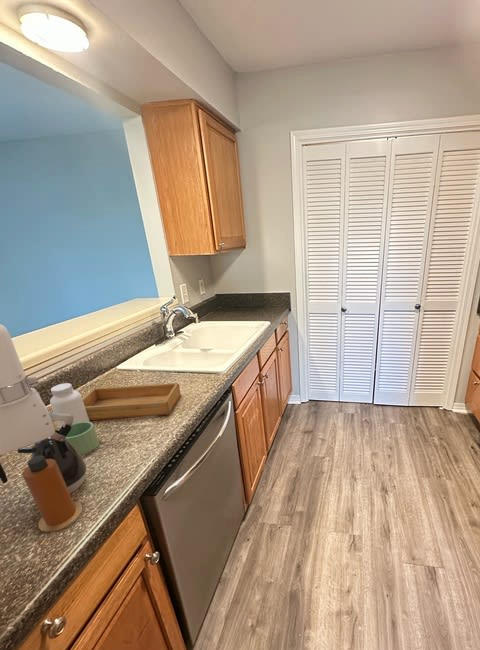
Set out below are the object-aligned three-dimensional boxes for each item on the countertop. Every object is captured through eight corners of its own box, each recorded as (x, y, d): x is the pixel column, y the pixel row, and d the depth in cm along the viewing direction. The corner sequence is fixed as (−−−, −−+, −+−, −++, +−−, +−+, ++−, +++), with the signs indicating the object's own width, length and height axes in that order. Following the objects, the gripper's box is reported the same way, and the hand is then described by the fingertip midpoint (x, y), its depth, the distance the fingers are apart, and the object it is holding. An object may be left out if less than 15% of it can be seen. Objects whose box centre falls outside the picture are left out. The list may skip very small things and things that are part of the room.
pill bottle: (76, 436, 99) (59, 393, 93) (55, 434, 101) (38, 391, 95) (96, 422, 106) (82, 381, 100) (77, 420, 108) (62, 380, 102)
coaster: (33, 537, 66) (32, 536, 66) (45, 509, 73) (45, 507, 73) (78, 524, 69) (77, 522, 68) (86, 498, 76) (85, 496, 75)
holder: (62, 460, 89) (54, 441, 86) (70, 444, 96) (63, 425, 94) (96, 452, 92) (90, 433, 89) (102, 437, 99) (95, 418, 96)
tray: (181, 395, 122) (178, 381, 120) (169, 416, 109) (166, 401, 106) (97, 401, 121) (93, 388, 119) (75, 423, 107) (69, 408, 105)
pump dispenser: (39, 488, 79) (14, 436, 73) (87, 468, 85) (68, 419, 79) (41, 512, 72) (15, 457, 66) (94, 489, 78) (74, 436, 72)
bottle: (41, 529, 67) (13, 472, 61) (49, 509, 72) (24, 455, 66) (72, 520, 69) (47, 464, 63) (78, 502, 74) (56, 448, 68)
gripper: (55, 371, 67) (79, 440, 73) (-65, 402, 55) (-24, 480, 62) (64, 382, 62) (88, 454, 69) (-66, 417, 51) (-21, 500, 57)
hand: (35, 467), depth 65 cm, fingers open, 9 cm apart
